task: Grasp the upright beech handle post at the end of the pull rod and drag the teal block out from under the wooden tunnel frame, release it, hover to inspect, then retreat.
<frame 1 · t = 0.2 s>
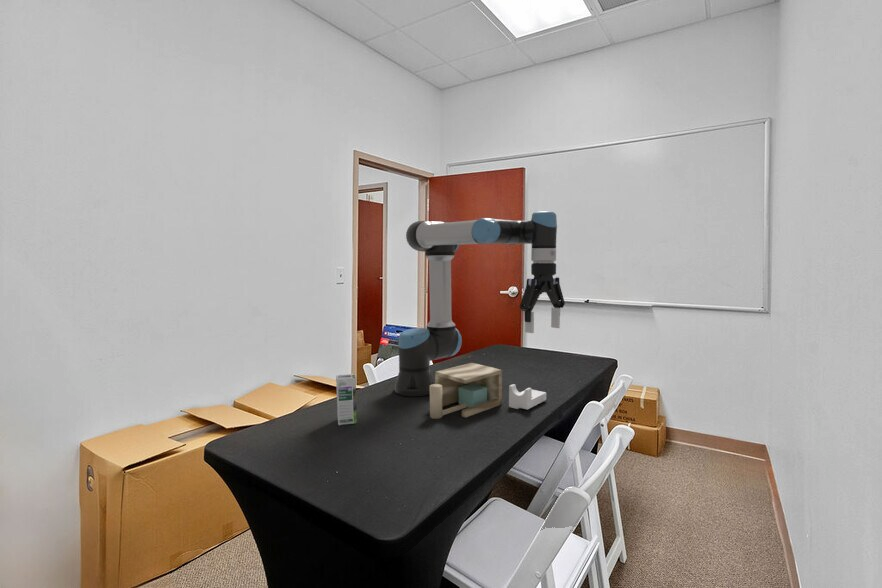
hand: (542, 330, 136), 28 cm above the table, fingers open, 13 cm apart
bracket: (527, 405, 149), on the table
wooden tunnel frame: (468, 405, 148), on the table
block: (472, 404, 150), on the table
syrup box: (347, 421, 135), on the table
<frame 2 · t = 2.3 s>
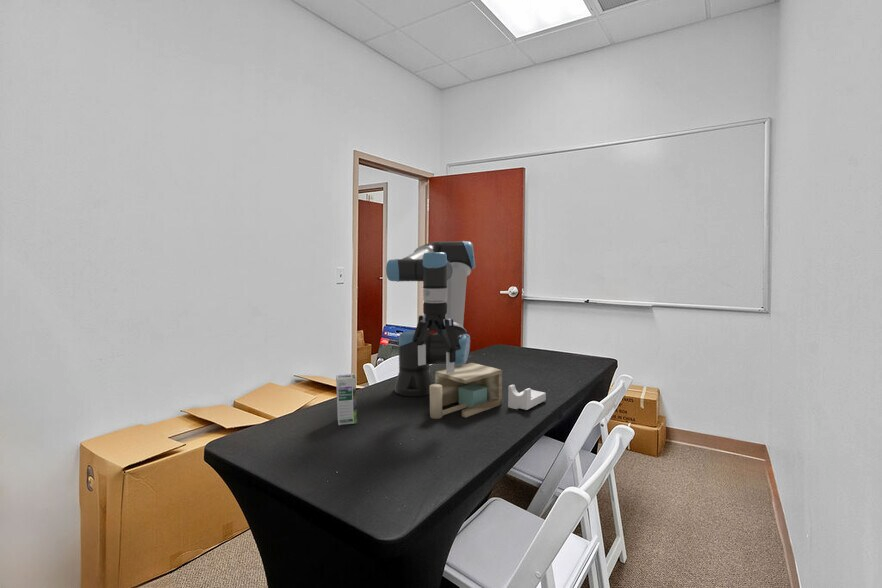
hand: (435, 368, 137), 16 cm above the table, fingers open, 13 cm apart
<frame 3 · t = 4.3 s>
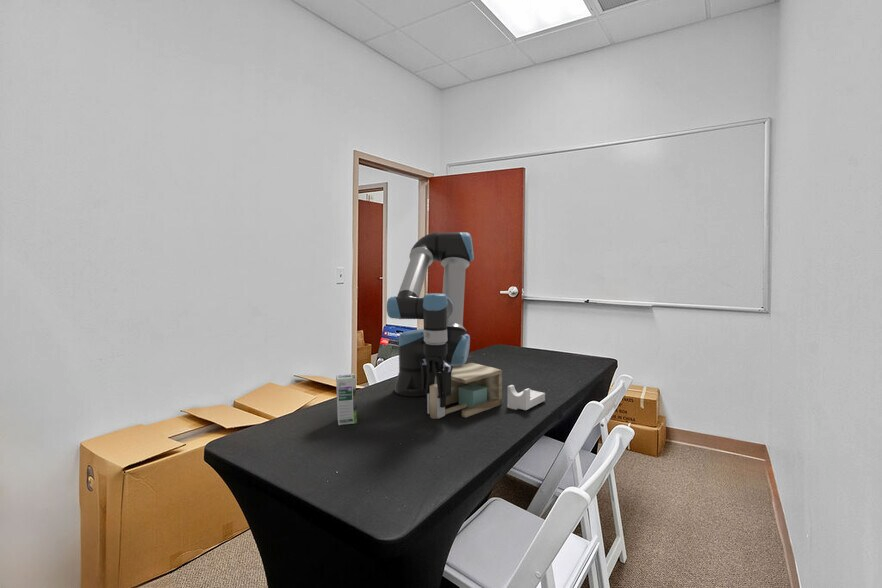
hand: (436, 414, 138), 1 cm above the table, fingers closed on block, 4 cm apart
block: (472, 404, 150), on the table, touching gripper
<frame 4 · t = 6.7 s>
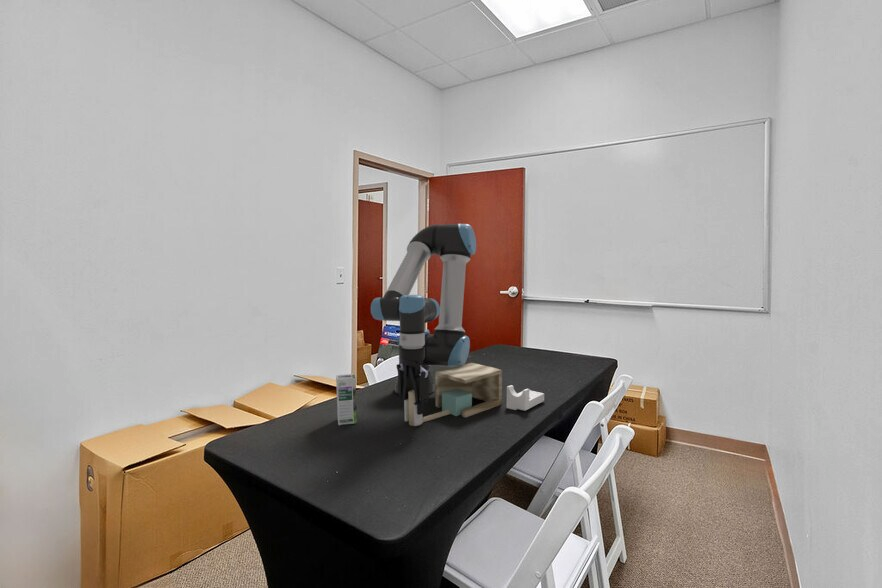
hand: (413, 421, 132), 1 cm above the table, fingers closed on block, 4 cm apart
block: (456, 410, 143), on the table, touching gripper
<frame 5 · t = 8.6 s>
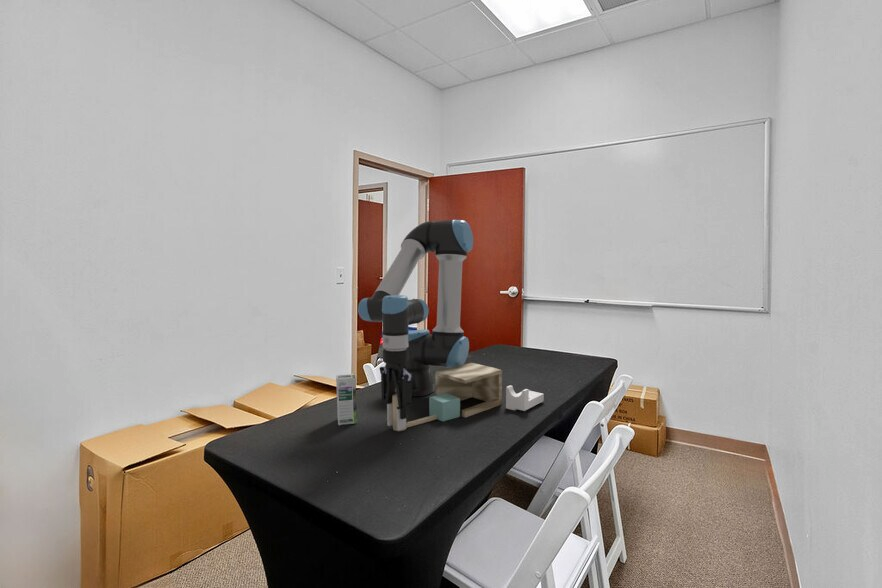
hand: (396, 426, 127), 1 cm above the table, fingers closed on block, 4 cm apart
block: (444, 415, 138), on the table, touching gripper
when the fingers open (1 cm above the table, at t = 9.4 s): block stays where it is, on the table.
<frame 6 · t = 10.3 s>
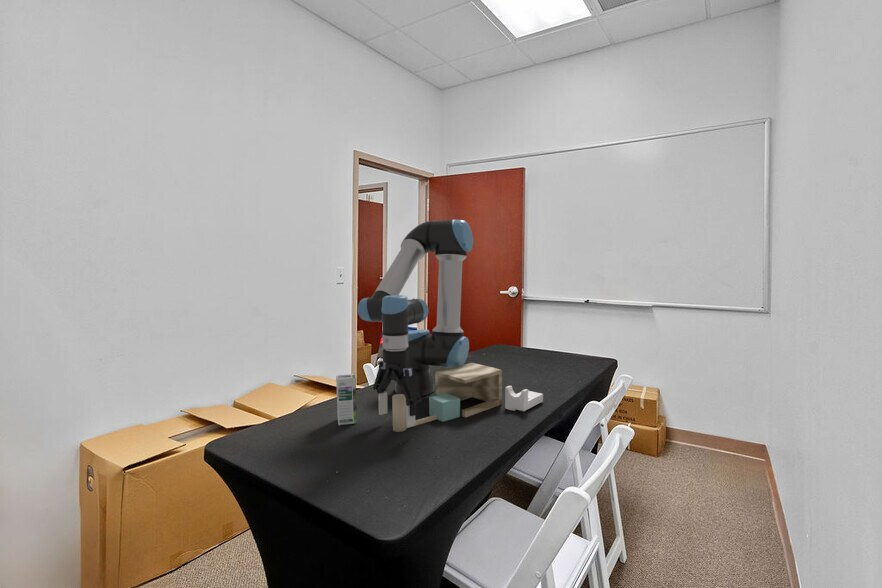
hand: (396, 419, 127), 3 cm above the table, fingers open, 13 cm apart
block: (444, 416, 138), on the table
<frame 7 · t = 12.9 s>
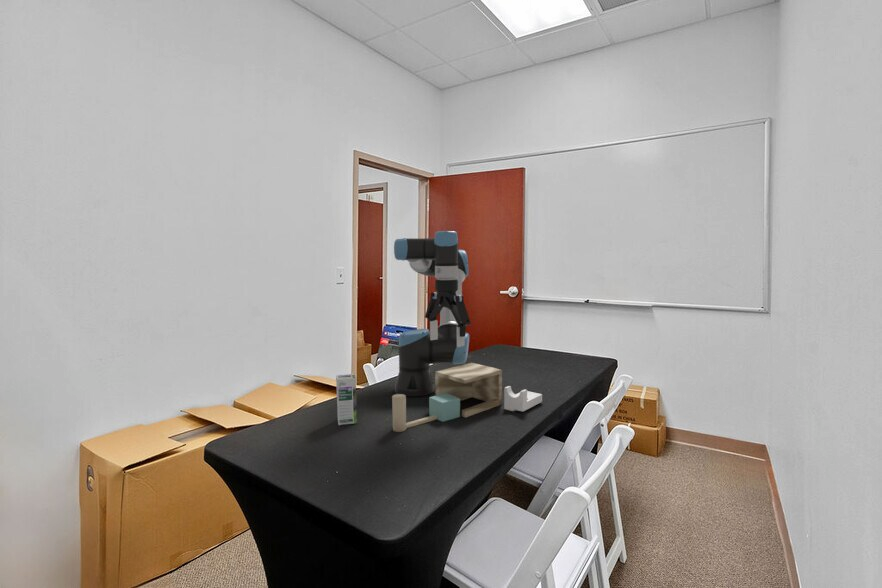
hand: (446, 343, 143), 23 cm above the table, fingers open, 13 cm apart
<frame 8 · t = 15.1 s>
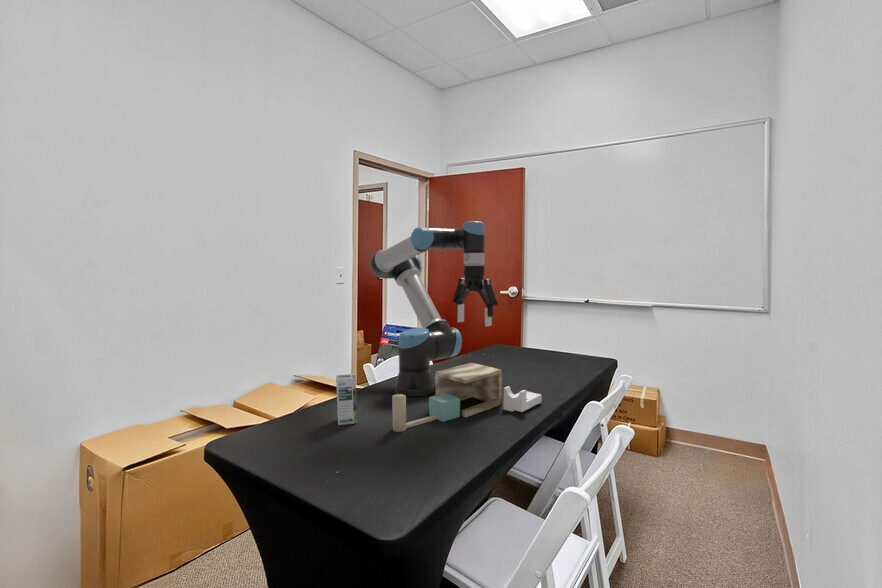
hand: (474, 323, 156), 27 cm above the table, fingers open, 13 cm apart
at the end: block inside the target area (14.3 cm from its centre), on the table; the gripper is holding nothing; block tilted 0° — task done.
